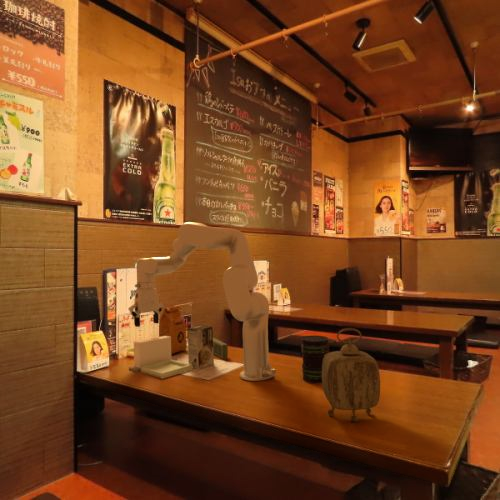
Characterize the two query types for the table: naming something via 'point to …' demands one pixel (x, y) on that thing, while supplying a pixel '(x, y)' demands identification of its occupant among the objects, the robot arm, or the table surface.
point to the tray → (166, 368)
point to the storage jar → (313, 357)
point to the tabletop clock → (350, 378)
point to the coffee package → (173, 328)
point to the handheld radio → (220, 349)
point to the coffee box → (200, 346)
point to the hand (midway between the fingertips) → (146, 324)
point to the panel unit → (151, 352)
